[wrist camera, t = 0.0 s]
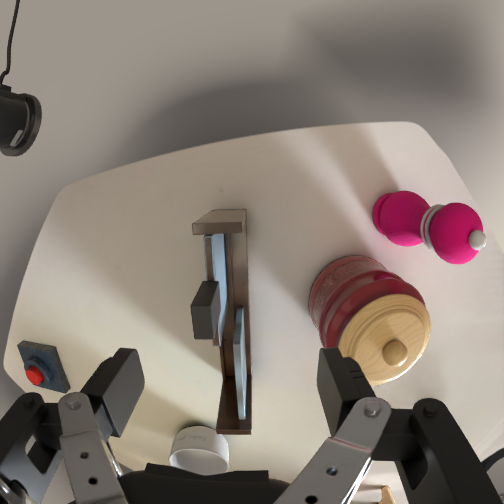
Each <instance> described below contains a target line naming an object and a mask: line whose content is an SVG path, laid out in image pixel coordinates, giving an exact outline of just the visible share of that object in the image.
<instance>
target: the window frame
mask: <svg viewBox="0 0 504 504" xmlns="http://www.w3.org/2000/svg"><path fill="white" fill-rule="evenodd" d="M192 229H193V235H200V234H224V240H225V258H226V275H227V292H228V309H227V315H226V320H225V325H224V330H223V335H222V340H221V346H219V347H220V357H221V367H222V376H223V383H222V390H221V397H220V404H219V411H218V418H217V426H216V433H217V434H227V435H251V434H252V361H251V337H250V313H249V288H248V262H247V236H246V209H231V210H212V211H211V212H209V213H208V214H206V215H205V216H203V217H202V218H200V219H199V220H197V221H196V222H194V223H193V224H192Z"/></svg>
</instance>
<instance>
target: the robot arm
mask: <svg viewBox="0 0 504 504" xmlns="http://www.w3.org/2000/svg"><path fill="white" fill-rule="evenodd" d="M19 2H20V0H16V6H15V12H14V16H13V22H12V26H11V31H10V35H9V40H8V47H7V68H6V71H4V72H3V73H2V74H1V76H0V148H1V149H14V148H15V147H17V146H18V145H19V144H20V143H21V142H22V140H23V139H24V137H25V135H26V133H27V131H28V128H29V125H30V119H31V110H30V106H29V104H28V103H27V97H26V96H23V95H19V94H16V93H12V92H11V87H9V86H6V85H3V84H2V82H3V78H4V76H5V75H7V74H8V73H9V71H10V66H11V44H12V38H13V33H14V28H15V23H16V18H17V13H18V8H19ZM144 383H145V380H144V374H143V371H142V367H141V363H140V359H139V355H138V352H137V350H136V349H130V348H119V349H118V351H117V352H116V353H115V355H114V356H113V357H109V358H108V359H106V360H105V361H103V362H102V363H101V364H100V365H99V367H98V368H97V371H95V372H94V373H93V376H91V377H90V379H89V380H88V381H87V383H86V384H85V385H84V387H83V388H82V389H81V391H80V392H73V393H69V394H66V395H65V396H63V397H62V398H61V399H60V400H59V402H58V403H45V402H44V400H43V398H42V396H41V395H40V394H38V393H35V392H29V393H26V394H23V395H22V396H20V397H19V398H18V399H17V400H16V401H15V403H14V404H13V405H12V406H11V408H10V409H9V410H8V412H7V413H6V414H5V415H4V417H3V418H2V419H1V420H0V504H41V501H42V499H43V497H44V495H45V493H46V490H47V488H48V486H49V484H50V482H51V480H52V477H53V476H54V473H55V471H56V470H57V467H58V466H59V464H60V461H61V460H62V458H64V461H65V466H66V470H67V473H68V477H69V481H70V484H71V488H72V491H73V494H74V497H75V500H74V501H73V502H70V503H68V504H349V503H350V501H351V499H352V498H353V496H354V494H355V492H356V491H357V489H358V487H359V485H360V484H361V482H362V480H363V478H364V477H365V475H366V473H367V471H368V469H369V467H370V465H371V463H372V462H373V460H374V461H395V464H396V467H397V470H398V473H399V476H400V479H401V482H402V484H403V487H404V490H405V493H406V496H407V500H408V503H409V504H503V503H502V501H501V499H500V497H499V495H498V493H497V491H496V489H495V488H494V486H493V484H492V482H491V480H490V478H489V476H488V474H487V473H486V471H485V469H484V467H483V466H482V464H481V462H480V460H479V459H478V457H477V455H476V454H475V452H474V450H473V448H472V447H471V445H470V443H469V442H468V440H467V439H466V437H465V435H464V434H463V432H462V430H461V429H460V427H459V426H458V424H457V422H456V421H455V419H454V418H453V416H452V415H451V413H450V412H449V410H448V408H447V407H446V406H445V404H444V403H443V402H441V401H439V400H437V399H433V398H425V399H421V400H419V401H417V402H416V403H415V404H414V406H413V409H393V408H391V406H390V405H389V403H388V402H387V401H385V400H383V399H381V398H377V397H376V395H375V393H374V391H373V390H372V388H371V386H370V384H369V382H368V380H367V378H366V377H365V375H364V373H363V371H362V369H361V367H360V365H359V364H358V362H356V361H355V360H354V359H352V358H351V357H343V356H342V354H341V352H340V350H339V348H338V347H330V348H321V349H320V352H319V363H318V373H317V387H318V392H319V395H320V399H321V402H322V405H323V409H324V412H325V416H326V419H327V423H328V426H329V430H330V433H331V437H328V438H327V439H326V440H325V442H324V443H323V444H322V446H321V447H320V448H319V450H318V451H317V452H316V454H315V455H314V456H313V458H312V459H311V460H310V461H309V463H308V464H307V465H306V466H305V468H304V469H303V470H302V471H301V473H300V474H299V475H298V476H297V477H296V479H295V480H294V481H293V482H292V483H291V484H290V483H287V482H284V481H281V480H277V479H272V478H269V474H268V470H261V471H233V472H227V473H220V474H213V475H200V474H197V473H193V472H190V471H187V470H183V469H180V468H177V467H173V466H165V465H158V464H151V463H147V465H146V468H145V470H142V471H135V472H130V473H127V474H123V473H122V470H121V468H120V466H119V464H118V462H117V459H116V457H115V455H114V453H113V450H112V448H111V445H110V443H109V441H108V439H109V437H110V436H114V437H119V438H120V437H121V435H122V433H123V431H124V428H125V426H126V424H127V422H128V420H129V418H130V416H131V414H132V412H133V410H134V407H135V405H136V403H137V401H138V399H139V397H140V395H141V393H142V391H143V389H144ZM32 435H33V436H34V438H35V439H36V441H35V443H34V445H33V446H32V448H31V450H30V451H29V453H28V454H26V452H25V446H26V444H27V442H28V440H29V439H30V437H31V436H32Z"/></svg>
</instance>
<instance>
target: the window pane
mask: <svg viewBox="0 0 504 504" xmlns="http://www.w3.org/2000/svg"><path fill="white" fill-rule="evenodd" d="M204 250H205V264H206V277H207V281H203V282H202V284H201V286H200V288H199V290H198V292H197V294H196V296H195V298H194V300H193V302H192V304H191V306H190V307H191V315H192V323H193V331H194V339H212V341H213V346H221V340H222V335H223V330H224V325H225V320H226V315H227V309H228V292H227V275H226V258H225V240H224V234H206V235H205V236H204Z"/></svg>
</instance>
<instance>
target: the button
mask: <svg viewBox="0 0 504 504" xmlns="http://www.w3.org/2000/svg"><path fill="white" fill-rule="evenodd" d="M26 375H27V378H28V379H29V380H30V382H31V383H33V384H34V385H39V384H40V383H41V382H42V381H43V375H42V373H41V372H40V371H39V369H37V368H36V367H35V366H31V367H30V368H29V369H28V370H27V371H26Z"/></svg>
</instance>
